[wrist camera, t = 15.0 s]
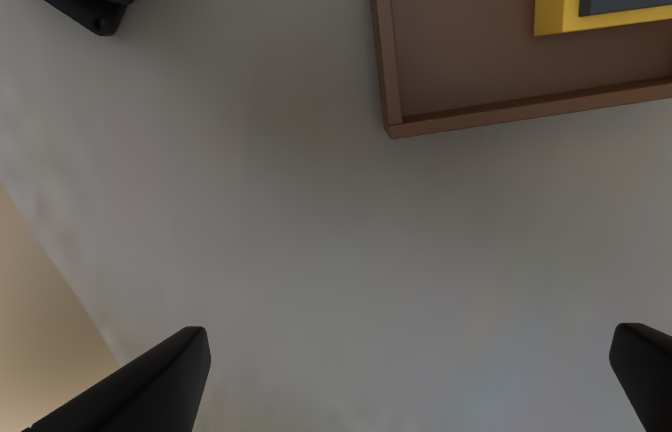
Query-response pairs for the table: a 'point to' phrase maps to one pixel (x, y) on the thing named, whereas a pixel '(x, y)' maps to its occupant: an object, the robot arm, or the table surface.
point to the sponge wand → (595, 14)
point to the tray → (506, 65)
